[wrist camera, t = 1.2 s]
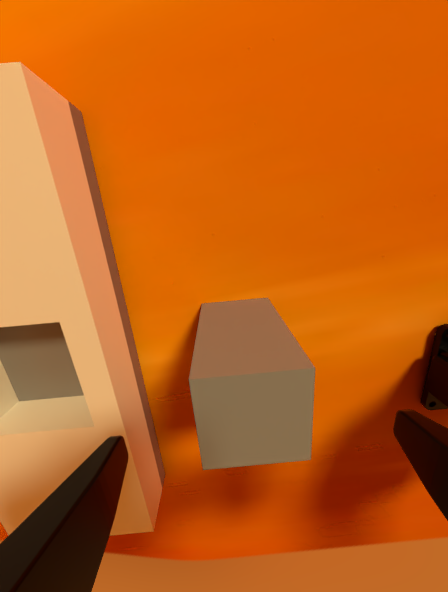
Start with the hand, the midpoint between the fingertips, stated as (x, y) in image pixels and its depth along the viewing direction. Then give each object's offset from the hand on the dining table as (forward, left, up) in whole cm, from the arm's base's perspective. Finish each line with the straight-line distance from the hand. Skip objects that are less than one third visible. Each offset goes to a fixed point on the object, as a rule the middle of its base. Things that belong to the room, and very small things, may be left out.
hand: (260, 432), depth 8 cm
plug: (0, 0, -7) cm, 7 cm away
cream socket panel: (+11, 0, -7) cm, 13 cm away
